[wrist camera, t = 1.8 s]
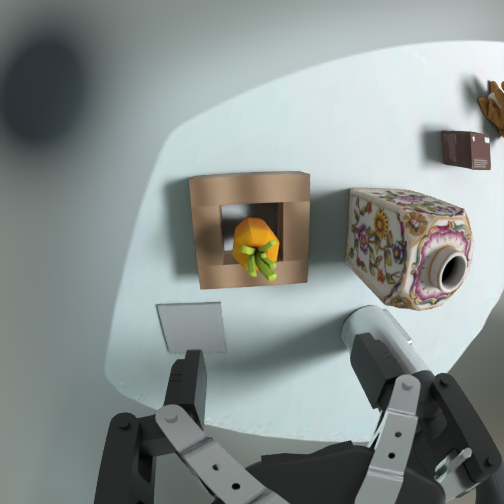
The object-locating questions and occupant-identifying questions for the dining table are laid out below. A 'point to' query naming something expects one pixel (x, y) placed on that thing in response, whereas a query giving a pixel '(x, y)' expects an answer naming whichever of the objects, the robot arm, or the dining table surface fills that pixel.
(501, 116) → the stuffed squirrel
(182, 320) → the rubber mat
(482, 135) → the box
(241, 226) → the carrot
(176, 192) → the dining table surface
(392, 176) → the dining table surface
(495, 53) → the dining table surface
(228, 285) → the socket block
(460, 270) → the decorative jar
